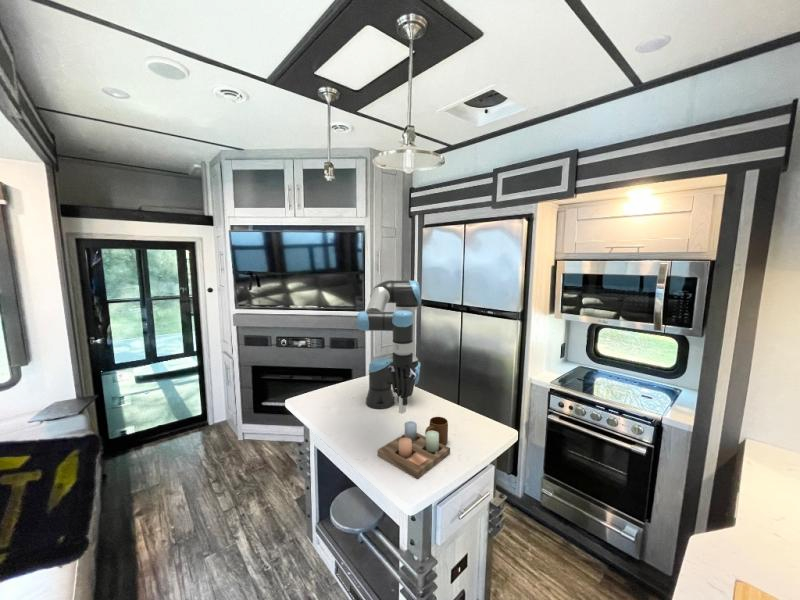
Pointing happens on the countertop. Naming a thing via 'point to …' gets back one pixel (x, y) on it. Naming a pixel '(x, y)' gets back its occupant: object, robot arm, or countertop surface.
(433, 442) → the pale green rounded cylinder
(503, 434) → the countertop surface
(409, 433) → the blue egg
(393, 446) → the wooden compartment tray
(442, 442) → the mug
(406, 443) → the peach rounded cylinder
